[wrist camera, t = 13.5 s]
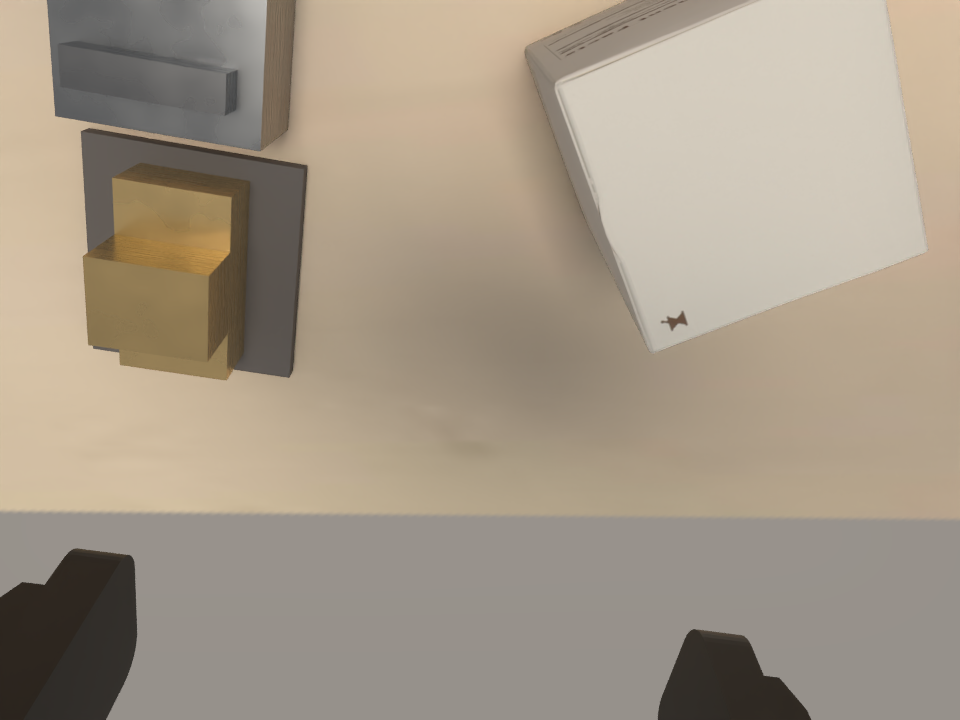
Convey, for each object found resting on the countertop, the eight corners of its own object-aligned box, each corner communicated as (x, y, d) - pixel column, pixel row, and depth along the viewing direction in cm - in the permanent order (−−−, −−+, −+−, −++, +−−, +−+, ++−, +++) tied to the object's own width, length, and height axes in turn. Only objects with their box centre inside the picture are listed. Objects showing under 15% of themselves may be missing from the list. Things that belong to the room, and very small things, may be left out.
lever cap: (250, 181, 35) (209, 216, 30) (243, 353, 39) (206, 411, 34) (140, 162, 35) (78, 195, 30) (144, 338, 39) (91, 395, 34)
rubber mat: (307, 165, 36) (303, 169, 35) (292, 370, 41) (289, 377, 40) (89, 128, 35) (80, 131, 34) (100, 342, 40) (93, 348, 39)
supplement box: (766, 156, 36) (940, 262, 22) (586, 228, 37) (647, 367, 24) (718, -46, 32) (891, -64, 19) (519, 42, 34) (547, 84, 20)
